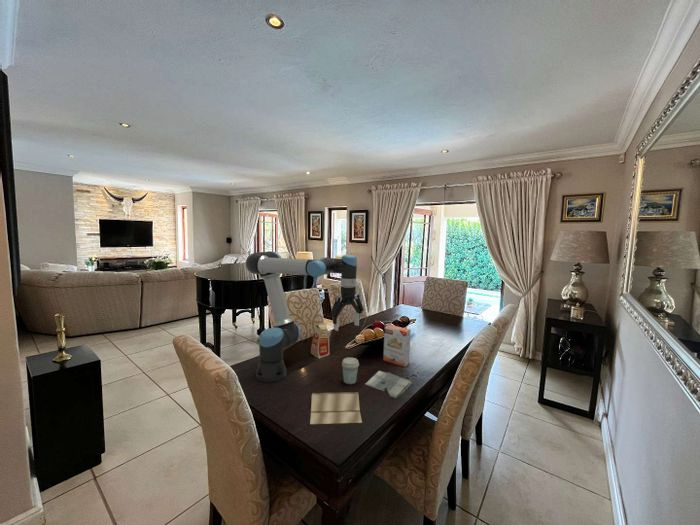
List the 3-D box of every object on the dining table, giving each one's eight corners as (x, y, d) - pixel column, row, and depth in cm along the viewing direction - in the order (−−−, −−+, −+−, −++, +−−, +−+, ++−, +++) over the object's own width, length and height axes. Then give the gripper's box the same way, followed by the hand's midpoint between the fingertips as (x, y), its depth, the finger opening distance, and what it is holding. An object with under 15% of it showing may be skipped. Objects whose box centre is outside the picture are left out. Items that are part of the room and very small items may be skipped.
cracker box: (382, 361, 170) (384, 326, 168) (387, 357, 175) (389, 324, 173) (404, 367, 162) (406, 331, 160) (409, 364, 167) (410, 329, 165)
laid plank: (309, 427, 110) (310, 423, 110) (310, 415, 118) (310, 411, 117) (361, 426, 112) (362, 422, 112) (359, 414, 119) (359, 410, 119)
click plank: (311, 413, 119) (311, 411, 118) (311, 394, 124) (311, 393, 123) (359, 411, 120) (359, 410, 119) (357, 393, 126) (358, 392, 125)
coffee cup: (345, 389, 138) (345, 365, 136) (338, 381, 145) (339, 358, 144) (361, 386, 141) (362, 362, 140) (354, 378, 149) (354, 355, 148)
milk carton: (318, 358, 171) (319, 325, 169) (310, 353, 178) (310, 321, 176) (330, 354, 177) (331, 322, 175) (322, 349, 184) (322, 319, 182)
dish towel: (396, 401, 130) (396, 394, 130) (362, 388, 140) (363, 382, 140) (412, 384, 145) (413, 378, 145) (381, 373, 156) (381, 368, 155)
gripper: (332, 290, 133) (331, 334, 135) (371, 285, 149) (369, 325, 151) (323, 287, 139) (321, 329, 141) (361, 282, 155) (359, 321, 157)
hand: (346, 327), depth 146 cm, fingers open, 13 cm apart
